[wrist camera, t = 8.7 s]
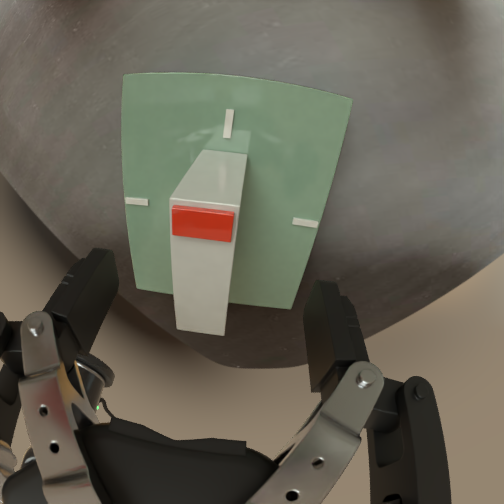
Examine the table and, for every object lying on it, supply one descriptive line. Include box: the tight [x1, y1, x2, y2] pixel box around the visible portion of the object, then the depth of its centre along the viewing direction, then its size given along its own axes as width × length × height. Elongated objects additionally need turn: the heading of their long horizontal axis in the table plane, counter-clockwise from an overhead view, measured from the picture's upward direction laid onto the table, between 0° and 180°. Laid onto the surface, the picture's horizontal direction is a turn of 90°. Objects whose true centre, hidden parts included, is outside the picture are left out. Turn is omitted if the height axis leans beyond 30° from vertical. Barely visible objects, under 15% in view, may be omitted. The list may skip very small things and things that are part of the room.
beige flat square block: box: [169, 149, 248, 336], centre depth 12 cm, size 6×2×6 cm, turn 172°
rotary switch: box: [121, 72, 353, 309], centre depth 15 cm, size 14×11×3 cm
